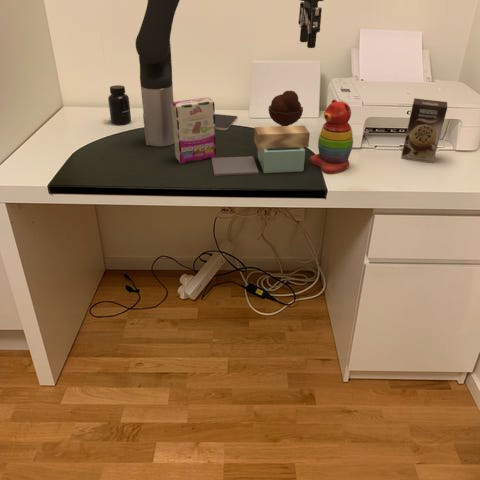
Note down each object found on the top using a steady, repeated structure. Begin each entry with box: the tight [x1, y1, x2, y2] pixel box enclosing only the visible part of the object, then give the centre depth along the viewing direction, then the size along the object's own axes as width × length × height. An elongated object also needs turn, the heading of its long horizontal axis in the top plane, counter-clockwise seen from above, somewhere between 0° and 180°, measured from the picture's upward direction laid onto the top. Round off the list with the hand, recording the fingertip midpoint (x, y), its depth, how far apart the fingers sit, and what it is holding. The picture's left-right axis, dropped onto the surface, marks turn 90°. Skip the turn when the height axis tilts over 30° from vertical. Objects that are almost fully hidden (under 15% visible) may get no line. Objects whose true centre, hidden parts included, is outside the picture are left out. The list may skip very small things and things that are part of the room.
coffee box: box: [400, 97, 448, 163], centre depth 134 cm, size 9×6×16 cm
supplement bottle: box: [107, 84, 132, 126], centre depth 158 cm, size 7×7×12 cm
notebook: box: [215, 113, 238, 131], centre depth 163 cm, size 13×2×21 cm
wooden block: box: [253, 124, 311, 150], centre depth 128 cm, size 14×6×4 cm, turn 97°
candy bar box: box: [171, 97, 217, 164], centre depth 131 cm, size 11×5×16 cm, turn 115°
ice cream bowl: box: [268, 90, 304, 126], centre depth 147 cm, size 11×11×15 cm
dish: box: [257, 147, 306, 174], centre depth 131 cm, size 11×11×6 cm
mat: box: [210, 155, 260, 177], centre depth 131 cm, size 12×11×1 cm
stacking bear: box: [308, 99, 354, 175], centre depth 128 cm, size 11×10×18 cm
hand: (307, 44), depth 135 cm, fingers open, 8 cm apart
